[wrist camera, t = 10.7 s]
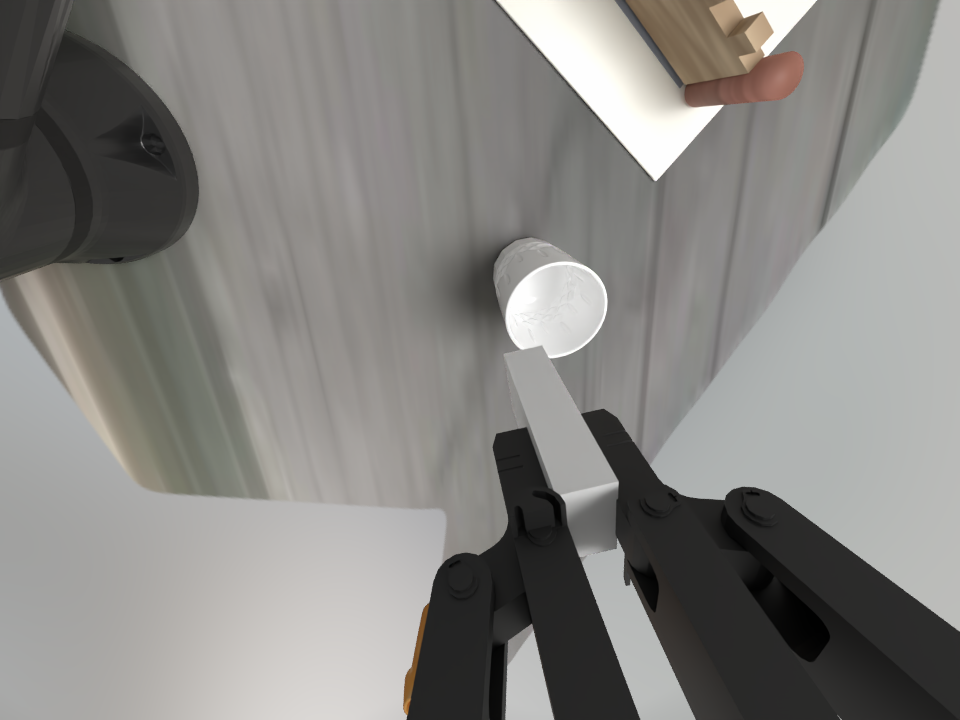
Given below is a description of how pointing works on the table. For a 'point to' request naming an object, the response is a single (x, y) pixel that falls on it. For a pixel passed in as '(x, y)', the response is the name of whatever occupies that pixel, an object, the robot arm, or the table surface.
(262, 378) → the table surface
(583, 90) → the card
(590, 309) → the white cup
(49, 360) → the table surface
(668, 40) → the swing panel
